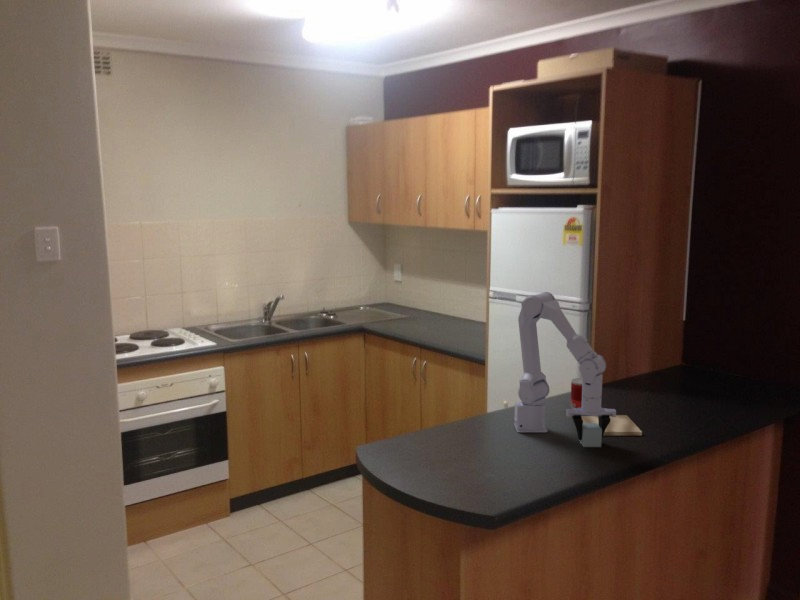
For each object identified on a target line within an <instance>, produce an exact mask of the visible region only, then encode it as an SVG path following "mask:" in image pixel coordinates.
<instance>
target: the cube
mask: <svg viewBox="0 0 800 600" xmlns="http://www.w3.org/2000/svg"><path fill="white" fill-rule="evenodd" d="M579 441H580V442H579ZM602 441H603V438H602V429H601V428H600V426H599V425H598V424H597V423H583V425H582V440H579V439H578V442H579V444H580V445H581V444H582V445H581V447H582V446H583V447H582V448H602Z"/></svg>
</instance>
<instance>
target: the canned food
mask: <svg viewBox="0 0 800 600" xmlns="http://www.w3.org/2000/svg"><path fill="white" fill-rule="evenodd" d="M582 378H583V377H576V378H573V379H571V383H570V409H574V408H581V406H582V381H583V380H582Z"/></svg>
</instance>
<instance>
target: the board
mask: <svg viewBox="0 0 800 600" xmlns="http://www.w3.org/2000/svg"><path fill="white" fill-rule="evenodd" d="M581 417H582V420H583V423H597V424H598V425H599V421H598V416H581ZM610 419H611V420H610V423H609V424H608V426H607V428H606V430H605V432H604V435H603V436H639V437H640V436H643V431H642V430H641V429H640V428H639V427H638V426H637V425H636V423H634V421H633V420H631V418H630V417H629V416H628V415H626V414H625V415H624V414H616V417H612V416H610Z"/></svg>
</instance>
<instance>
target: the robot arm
mask: <svg viewBox="0 0 800 600" xmlns="http://www.w3.org/2000/svg"><path fill="white" fill-rule="evenodd" d="M520 304H521V309H520V312H519V314H518V320H517V321H518V329H519V330H518V331H519V340H520V351H521V359H522V367H523V374H522V376H521V377H520V379H519V387H518V392H517V395H518V398H519V400H520V401H517V402H515V403H514V423H513V425H514V427H515V429H516V433H548V429H547V428H546V426H545V419H546V417H545V414H546V399H547V398H546V397H548V396H549V394H550V386H549V383H548V381H547V378H546V375H545V374H544V373H543V372H542V369H541V359H540V358H541V357H540V350H539V349H540V348H539V338H538V337H539V335H538V329H537V327H538V326H537V322H538V321H539V320H541V319H544V320H548V321H550V322H551V323H552V324H553V325H554V326H555V328H556V329H557V330H558V331H559V332H560V333H561V335H562V336H563V338H565V340H566V347H567V349H568V350H569V352H570V353H571V354H572V356H573V357H574V359H575V360H576V361H577V363H578V364H579V366H578V368H579V372H580V375H581V376H582V377H581V378H582V380H583V381H582V406H581V408H574V409H571V408H566V409H565V415H566V418H572V420H573V423H574V426H575V429H576V433H577V439H578V441H579V440H582V425H583V420H582V417H581V416H598V421H599V426H600V428H601V429H602V439H603V438H604V436H605V435H604V432H605V430H606V428H607V426H608V424H609V423H610V420H611V419H610V416H612V417H616V415H617V410H616V409H615V408H606V407H605V408H604V407H602V397H603V396H602V395H603V394H602V393H603V373H604V372H605V371H606V369H607V363H606V359H605V358H604V356H602V355H600V354H597V352H596V351H595V350H594V349H593V348H592V346H591V345H590V344H589V342H588V341H589V340H588V339H587V337H584V336H583V335H582V334H577V333H576V331H575V329H574V328H573V326H572V325H571V324H570V321H569V320H568V319H567V316H565V314H564V312H563V311H562V309H561V306H560V303H559V301H558V300H557V299H556V298H555V296H554V295H553V294H552V293H551V292H548V291H544V292H541V293H538V294H531V295H528V296H526V297H525V298H524V299H523V300H522V301H521V303H520Z"/></svg>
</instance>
